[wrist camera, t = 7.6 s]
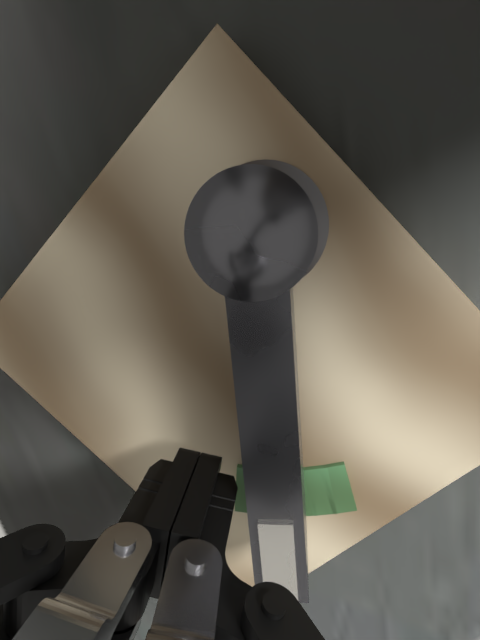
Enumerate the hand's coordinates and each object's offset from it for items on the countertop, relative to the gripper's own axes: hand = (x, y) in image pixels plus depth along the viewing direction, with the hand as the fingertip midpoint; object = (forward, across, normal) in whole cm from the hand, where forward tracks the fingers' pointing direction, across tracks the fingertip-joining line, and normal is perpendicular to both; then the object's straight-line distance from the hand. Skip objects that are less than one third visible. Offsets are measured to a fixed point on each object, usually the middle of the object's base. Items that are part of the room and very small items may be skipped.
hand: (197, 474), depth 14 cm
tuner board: (+3, -1, -3) cm, 5 cm away
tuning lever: (+1, -2, -4) cm, 4 cm away
